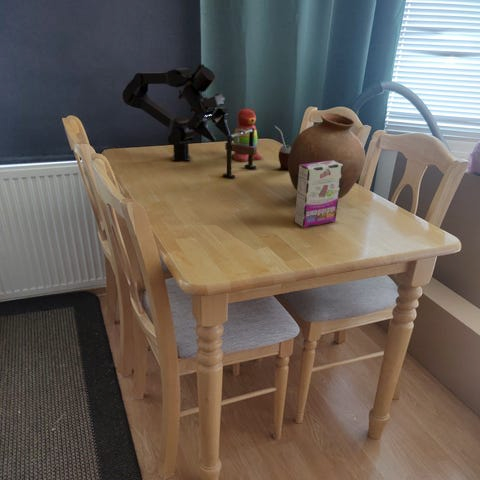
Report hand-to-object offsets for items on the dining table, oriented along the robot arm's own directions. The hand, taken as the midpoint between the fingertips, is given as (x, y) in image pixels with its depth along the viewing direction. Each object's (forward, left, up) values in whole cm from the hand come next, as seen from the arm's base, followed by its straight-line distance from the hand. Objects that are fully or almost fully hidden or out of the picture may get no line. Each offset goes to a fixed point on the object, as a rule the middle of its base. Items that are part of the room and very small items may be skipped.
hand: (222, 138), depth 170 cm
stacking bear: (-15, +10, -11) cm, 21 cm away
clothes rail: (+5, +6, -11) cm, 13 cm away
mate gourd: (0, +24, -11) cm, 26 cm away
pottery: (+31, +31, -11) cm, 45 cm away
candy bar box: (+51, +25, -11) cm, 57 cm away
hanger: (+5, +6, -3) cm, 9 cm away
